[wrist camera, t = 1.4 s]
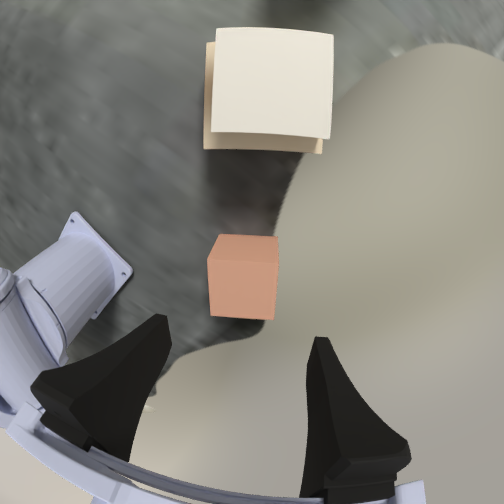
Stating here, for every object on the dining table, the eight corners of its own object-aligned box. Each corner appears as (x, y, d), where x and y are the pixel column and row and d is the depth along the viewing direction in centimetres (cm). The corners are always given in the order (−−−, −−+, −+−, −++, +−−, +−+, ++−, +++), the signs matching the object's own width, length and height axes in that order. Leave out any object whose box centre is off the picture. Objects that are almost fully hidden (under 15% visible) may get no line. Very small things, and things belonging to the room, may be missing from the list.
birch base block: (313, 150, 18) (321, 154, 15) (214, 146, 18) (203, 149, 15) (316, 59, 15) (325, 46, 12) (216, 55, 15) (206, 42, 12)
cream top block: (318, 138, 14) (329, 139, 12) (222, 132, 15) (211, 132, 12) (322, 51, 12) (333, 34, 9) (226, 46, 12) (216, 28, 9)
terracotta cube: (274, 286, 22) (273, 319, 18) (220, 283, 22) (210, 315, 19) (277, 236, 20) (278, 263, 16) (219, 233, 21) (207, 259, 17)
